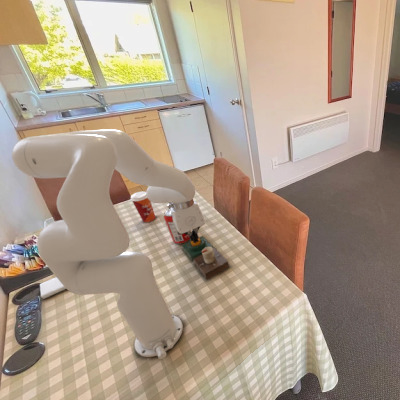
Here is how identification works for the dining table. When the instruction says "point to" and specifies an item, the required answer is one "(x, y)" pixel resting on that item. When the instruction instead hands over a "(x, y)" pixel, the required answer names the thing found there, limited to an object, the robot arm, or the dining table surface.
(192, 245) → the power button
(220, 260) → the dimmer panel
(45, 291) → the hard drive
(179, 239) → the soda can
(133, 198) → the paper cup
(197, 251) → the switch box
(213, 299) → the dining table surface
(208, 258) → the dimmer knob
